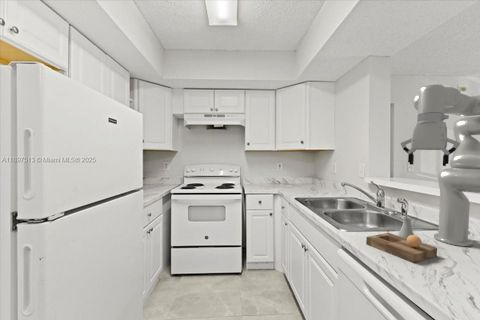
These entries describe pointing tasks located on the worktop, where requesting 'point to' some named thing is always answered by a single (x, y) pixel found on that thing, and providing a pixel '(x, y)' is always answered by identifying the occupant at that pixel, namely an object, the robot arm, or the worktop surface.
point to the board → (401, 247)
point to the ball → (414, 241)
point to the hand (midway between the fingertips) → (427, 165)
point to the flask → (406, 228)
